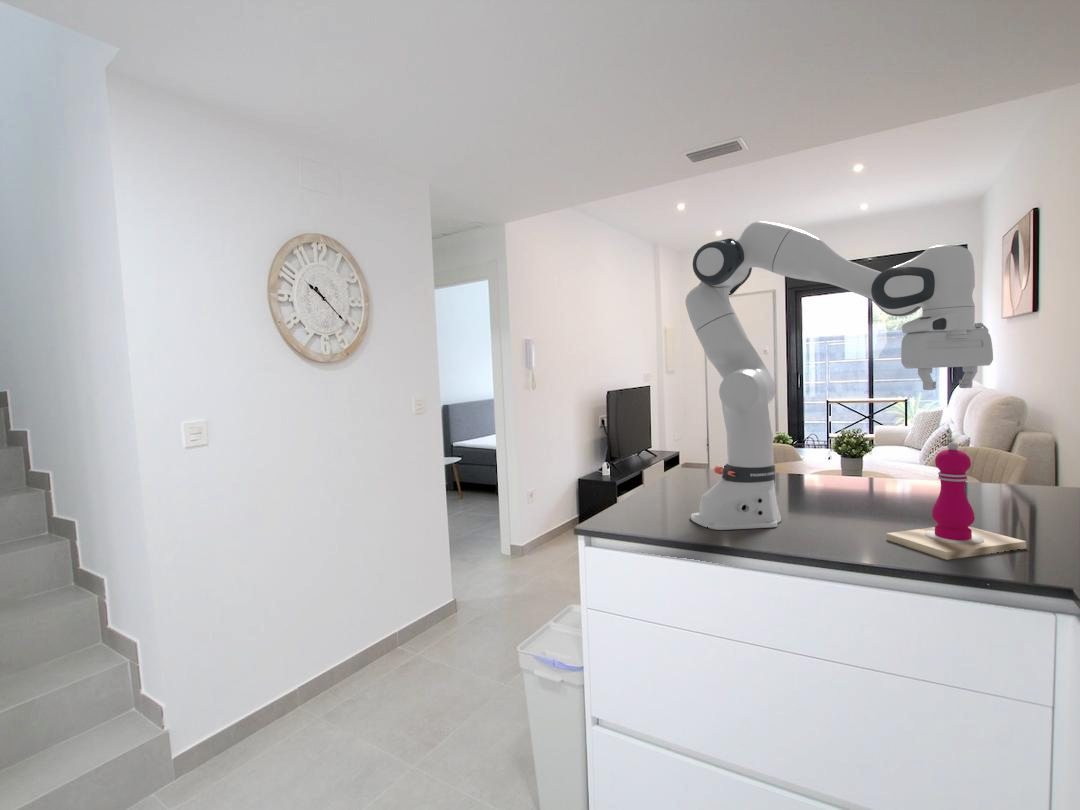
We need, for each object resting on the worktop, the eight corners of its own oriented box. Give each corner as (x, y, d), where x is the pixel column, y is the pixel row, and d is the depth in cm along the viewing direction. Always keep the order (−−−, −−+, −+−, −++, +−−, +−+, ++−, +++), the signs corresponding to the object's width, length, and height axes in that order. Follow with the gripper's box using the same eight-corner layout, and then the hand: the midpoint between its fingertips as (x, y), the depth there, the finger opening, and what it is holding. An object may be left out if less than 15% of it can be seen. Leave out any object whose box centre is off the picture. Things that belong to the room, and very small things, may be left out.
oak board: (946, 559, 107) (946, 551, 107) (886, 539, 121) (886, 532, 121) (1026, 548, 111) (1026, 540, 111) (959, 530, 125) (959, 523, 125)
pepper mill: (982, 541, 112) (982, 444, 111) (942, 540, 113) (942, 444, 112) (962, 531, 119) (962, 440, 118) (925, 531, 120) (924, 440, 119)
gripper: (972, 324, 120) (972, 386, 121) (895, 325, 116) (895, 390, 117) (1002, 321, 114) (1002, 387, 115) (922, 322, 110) (922, 391, 110)
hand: (947, 389), depth 116 cm, fingers open, 8 cm apart
